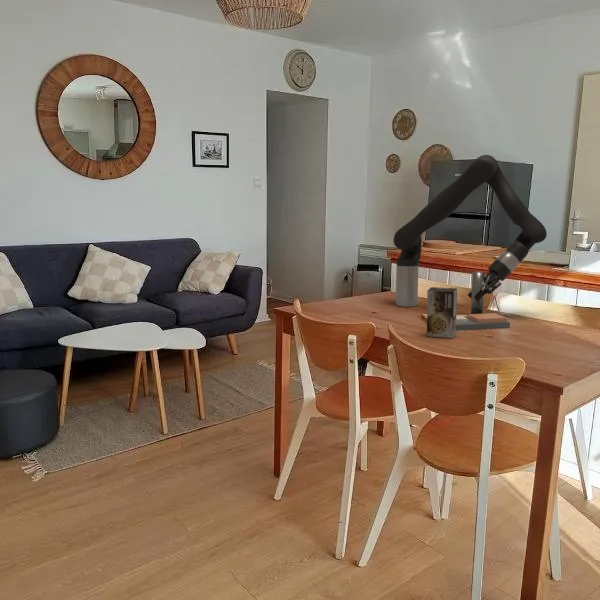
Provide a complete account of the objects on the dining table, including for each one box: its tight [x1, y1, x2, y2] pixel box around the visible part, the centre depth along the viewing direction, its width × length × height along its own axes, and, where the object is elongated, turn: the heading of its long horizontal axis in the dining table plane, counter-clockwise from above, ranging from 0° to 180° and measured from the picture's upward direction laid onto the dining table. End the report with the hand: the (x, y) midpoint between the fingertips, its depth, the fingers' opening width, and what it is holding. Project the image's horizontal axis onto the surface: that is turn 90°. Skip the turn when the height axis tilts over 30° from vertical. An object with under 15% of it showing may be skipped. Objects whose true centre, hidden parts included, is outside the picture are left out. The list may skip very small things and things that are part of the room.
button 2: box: [467, 312, 507, 324], centre depth 211 cm, size 8×11×2 cm
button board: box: [456, 317, 511, 332], centre depth 211 cm, size 10×22×2 cm, turn 99°
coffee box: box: [426, 286, 458, 339], centre depth 197 cm, size 9×6×16 cm
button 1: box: [456, 315, 468, 324], centre depth 209 cm, size 5×5×2 cm
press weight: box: [466, 271, 486, 317], centre depth 221 cm, size 7×7×18 cm
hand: (472, 298), depth 221 cm, fingers open, 4 cm apart
